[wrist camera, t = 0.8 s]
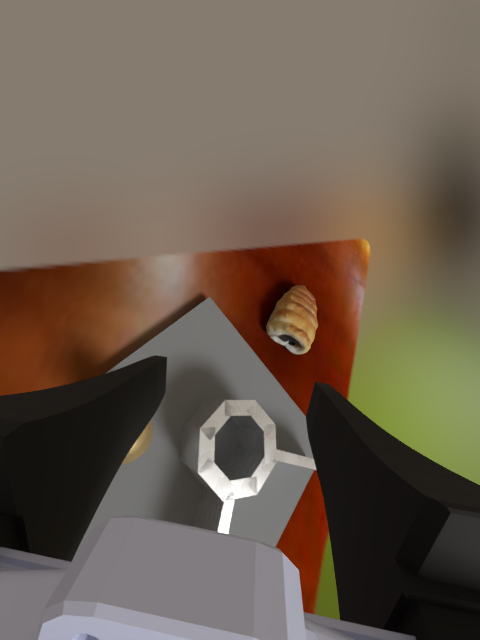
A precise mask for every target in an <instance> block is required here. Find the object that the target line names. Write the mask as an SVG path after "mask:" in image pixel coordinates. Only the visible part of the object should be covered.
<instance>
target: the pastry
mask: <svg viewBox="0 0 480 640" xmlns="http://www.w3.org/2000/svg"><path fill="white" fill-rule="evenodd" d="M316 312H317V308H316V302H315V298H314V297H313V295H312V294H311V293H310V292H309V291H308V290H307V289H306V287H305V286H294V287H292V288H291V289H290V290H289V291H288V292H286V293H285V294H284V295H283V297H282V298H281V299H280V300H279V301H278V302H277V304H276V307H275V309H274V311H273V313H272V314H271V316H270V318H269V321H268V323H267V326H266V332H267V334H268V335H269V336H270V338H272V339H273V340H274V341H275V342H278V343H279V344H281V345H284V346H285V347H286V348H287V349H288V350H289V351H290V352H292V353H294V354H304V353H306V352H307V351H308V350H309V349H310V348H311V343H312V342H313V340H314V337H315V331H316V329H317V327H318V323H317V319H316V317H317V314H316Z"/></svg>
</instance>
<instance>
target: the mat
mask: <svg viewBox="0 0 480 640" xmlns="http://www.w3.org/2000/svg"><path fill="white" fill-rule="evenodd" d="M154 355H157V356H163V357H167V372H166V392H165V395H164V397H163V399H162V402H161V404H160V405H159V407H158V409H157V411H156V413H155V414H154V416H153V417H152V419H151V422H152V426H153V435H152V439H151V442H150V444H149V446H148V448H147V449H146V451H145V452H144V453H143V454H142V455H141V456H140V457H139V458H137V459H136V460H134V461H132V462H130V463H126V464H121V466H120V468H119V469H118V471H117V473H116V475H115V477H114V478H113V480H112V482H111V484H110V486H109V488H108V490H107V492H106V494H105V495H104V497H103V499H102V501H101V503H100V505H99V507H98V509H97V511H96V513H95V515H94V517H93V519H92V521H91V523H90V525H89V527H88V529H87V531H86V533H85V535H84V537H83V539H82V541H81V543H80V545H79V547H78V549H77V552H76V554H75V556H76V555H77V553H78V552H79V550H80V548H81V547H82V545H83V543H84V542H85V540H86V538H87V537H88V535H89V534H90V532H91V530H92V529H93V527H95V526H97V525H99V524H100V523H102V522H104V521H106V520H108V519H110V518H112V517H115V516H143V517H148V518H153V519H158V520H162V521H167V522H172V523H177V524H182V525H187V526H191V525H192V521H193V517H194V513H195V509H196V505H197V501H198V497H199V493H200V489H201V486H202V484H201V483H200V482H199V480H198V479H197V478H196V477H195V476H194V475H193V474H192V473H191V471H190V470H189V469H188V468H187V467H186V466H185V465H184V464H183V462H182V461H180V454H181V441H182V427H183V423H184V422H185V421H186V420H187V419H188V418H189V417H190V415H191V414H192V413H193V412H194V411H195V410H196V409H197V408H198V407H199V406H200V405H201V404H202V403H203V402H204V401H205V400H256V402H257V403H258V404H259V405H260V406H261V408H262V409H263V410H264V411H265V413H266V414H267V415H268V416H269V417H270V419H271V420H272V421H273V422H274V424H275V428H276V449H279V450H282V451H286V452H290V453H294V454H298V455H302V456H306V457H309V458H313V454H312V450H311V447H310V443H309V439H308V432H307V423H306V417H305V415H304V414H303V413H302V412H301V410H300V409H299V408H298V407H297V405H296V404H295V403H294V402H293V400H292V399H291V398H290V397H289V395H288V394H287V393H286V392H285V390H284V389H283V388H282V387H281V385H280V384H279V383H278V382H277V380H276V379H275V378H274V377H273V375H272V374H271V373H270V372H269V370H268V369H267V368H266V367H265V365H264V364H263V363H262V362H261V360H260V359H259V358H258V357H257V355H256V354H255V353H254V352H253V350H252V349H251V348H250V347H249V345H248V344H247V343H246V342H245V340H244V339H243V338H242V337H241V335H240V334H239V333H238V332H237V330H236V329H235V328H234V327H233V325H232V324H231V323H230V322H229V320H228V319H227V318H226V317H225V315H224V314H223V313H222V312H221V310H220V309H219V308H218V307H217V305H216V304H215V303H214V302H213V300H212V299H211V298H210V297H209V298H207V299H206V300H205V301H203V302H202V303H200V304H199V305H198V306H196V307H195V308H194V309H192V310H191V311H190V312H188V313H187V314H185V315H184V316H183V317H181V318H180V319H179V320H177V321H176V322H175V323H173V324H172V325H170V326H169V327H168V328H166V329H165V330H164V331H162V332H161V333H160V334H158V335H157V336H155V337H154V338H153V339H151V340H150V341H149V342H147V343H146V344H145V345H143V346H142V347H140V348H139V349H138V350H136V351H135V352H134V353H132V354H131V355H130V356H128V357H127V358H125V359H124V360H123V361H121V362H120V363H119V364H117V365H116V366H115V367H113V368H112V369H110V370H109V371H108V372H106V373H109V372H111V371H114V370H117V369H120V368H122V367H125V366H127V365H130V364H132V363H135V362H137V361H140V360H142V359H145V358H148V357H151V356H154ZM106 373H105V374H106ZM237 448H238V426H237V425H236V424H235V422H234V421H233V420H232V419H231V418H230V417H229V419H228V420H227V421H226V422H225V423H224V425H223V426H222V427H221V428H220V430H219V431H218V432H217V433H216V434H215V452H214V463H215V464H216V465H225V464H226V463H227V462H228V461H229V459H230V458H231V457H232V455H233V454H234V453H235V451H236V450H237ZM313 459H314V458H313ZM313 471H314V469H310V468H306V467H302V466H298V465H293V464H289V463H285V462H281V461H277V462H276V464H275V466H274V467H273V469H272V471H271V472H270V474H269V476H268V477H267V479H266V481H265V482H264V484H263V485H262V487H261V489H260V490H259V492H258V494H257V495H252V496H248V497H243V498H238V499H235V500H234V505H233V510H232V515H231V520H230V525H229V530H228V534H231V535H236V536H241V537H246V538H251V539H256V540H258V541H261V542H263V543H265V544H268V545H270V546H273V547H275V546H276V545H277V543H278V541H279V539H280V537H281V535H282V533H283V531H284V529H285V527H286V525H287V523H288V521H289V519H290V517H291V515H292V513H293V511H294V509H295V507H296V505H297V503H298V501H299V499H300V497H301V495H302V493H303V491H304V489H305V487H306V485H307V483H308V481H309V479H310V477H311V475H312V473H313ZM75 556H74V558H75ZM74 558H73V560H74ZM73 560H72V561H73Z"/></svg>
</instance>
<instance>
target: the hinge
mask: <svg viewBox="0 0 480 640" xmlns="http://www.w3.org/2000/svg"><path fill="white" fill-rule="evenodd" d="M229 417H230V418H231V419H232V420H233V421H234V422H235V424H236V425H237V426H238V448H237V450H236V451H235V453H234V454H233V455H232V457H231V458H230V459H229V461H228V462H227V463H226V464H225V465H216V464H215V463H214V452H215V434H216V433H217V432H218V431H219V430H220V428H221V427H222V426H223V425H224V423H225V422H226V421H227V420H228V419H229ZM180 461H182V462H183V464H184V465H185V466H186V467H187V468H188V469H189V470H190V471H191V473H192V474H193V475H194V476H195V477H196V478H197V479H198V480H199V482H200V483H201V484H202V486H201V489H200V493H199V497H198V501H197V505H196V509H195V513H194V517H193V521H192V525H191V526H192V527H197V528H202V529H207V530H212V531H217V532H221V533H226V534H228V530H229V525H230V520H231V515H232V510H233V505H234V500H235V499H238V498H243V497H248V496H252V495H257V494H258V492H259V490H260V489H261V487H262V485H263V484H264V482H265V481H266V479H267V477H268V476H269V474H270V472H271V471H272V469H273V467H274V466H275V464H276V462H277V461H281V462H285V463H289V464H293V465H298V466H302V467H306V468H310V469H314V470H317V469H316V466H315V462H314V459H313V458H309V457H306V456H302V455H298V454H294V453H290V452H286V451H282V450H279V449H276V428H275V424H274V422H273V421H272V420H271V419H270V417H269V416H268V415H267V414H266V413H265V411H264V410H263V409H262V408H261V406H260V405H259V404H258V403H257V402H256V400H205V401H204V402H203V403H202V404H201V405H200V406H199V407H198V408H197V409H196V410H195V411H194V412H193V413H192V414H191V415H190V417H189V418H188V419H187V420H186V421H185V422H184V423H183V427H182V441H181V454H180Z"/></svg>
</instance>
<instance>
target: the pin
mask: <svg viewBox="0 0 480 640" xmlns="http://www.w3.org/2000/svg"><path fill="white" fill-rule="evenodd" d="M152 435H153V426H152V422H151V420H150V422H149V423H148V425H147V426H146V428H145V429H144V430H143V432H142V433H141V435H140V436H139V438H138V439H137V441H136V442H135V444H134V445H133V446H132V448H131V449H130V451H129V452H128V454H127V456H126V457H125V459H124V460H123V462H122V464H126V463H130V462H132V461H134V460H136V459H137V458H139V457H140V456H141V455H142V454H143V453H144V452H145V451H146V449H147V448H148V446H149V444H150V442H151V439H152Z"/></svg>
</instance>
